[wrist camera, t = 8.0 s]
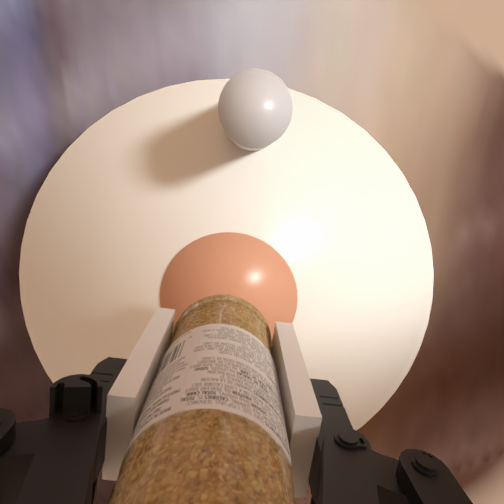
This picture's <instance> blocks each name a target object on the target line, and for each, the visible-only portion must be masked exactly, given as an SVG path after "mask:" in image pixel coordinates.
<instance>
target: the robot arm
mask: <svg viewBox="0 0 504 504" xmlns="http://www.w3.org/2000/svg"><path fill="white" fill-rule="evenodd" d="M174 315H175V309H168V308H159V307H158V308H157V309H156V311H155V313H154V315H153V316H152V318H151V320H150V322H149V323H148V325H147V327H146V328H145V330H144V332H143V334H142V335H141V337H140V339H139V341H138V342H137V344H136V346H135V348H134V349H133V351H132V353H131V355H130V356H129V358H128V359H122V358H113V357H108V358H106V359H104V360H102V361H101V362H99V363H97V365H96V366H95V368H94V369H93V370H92V372H91V373H90V375H87V374H76V375H70V376H66V377H63V378H61V379H59V380H57V381H56V382H54V383H53V385H52V386H51V387H50V415H49V417H48V418H46V419H43V420H37V421H30V422H20V423H16V419H15V414H14V413H13V412H11V411H10V410H7V409H3V408H0V504H95V497H96V491H97V476H98V474H99V472H100V470H101V468H102V465H103V470H102V479H103V480H114V481H117V478H118V476H119V471H120V466H121V462H122V460H123V457H124V454H125V451H126V449H127V446H128V444H129V441H130V439H131V436H132V434H133V431H134V429H135V426H136V424H137V421H138V419H139V416H140V414H141V411H142V409H143V406H144V404H145V401H146V399H147V396H148V394H149V391H150V389H151V386H152V384H153V381H154V379H155V376H156V374H157V372H158V369H159V367H160V364H161V361H162V359H163V357H164V355H165V353H166V351H167V350H168V348H169V347H170V345H171V342H172V335H173V325H174ZM271 353H272V358H273V361H274V364H275V367H276V372H277V378H278V383H279V389H280V395H281V401H282V406H283V412H284V418H285V426H286V432H287V437H288V444H289V450H290V456H291V464H292V467H291V474H292V479H293V488H294V497H295V498H306V496H307V491H308V486H309V485H310V489H311V494H312V498H311V503H310V504H473V503H472V502H471V501H470V499H469V498H468V496H467V495H466V493H465V492H464V491H463V489H462V488H461V486H460V485H459V483H458V482H457V480H456V479H455V477H454V476H453V475H452V473H451V472H450V470H449V469H448V468H447V467H446V465H445V464H444V463H443V462H442V461H441V460H439V459H438V458H436V457H435V456H433V455H432V454H430V453H427V452H425V451H422V450H417V449H406V450H404V451H403V452H401V455H400V458H399V460H396V459H393V458H390V457H387V456H384V455H381V454H379V453H376V452H374V451H373V450H371V446H370V444H369V442H368V440H367V439H366V438H365V437H364V436H363V435H362V434H360V433H359V432H357V431H356V430H354V429H353V427H352V425H351V422H350V420H349V418H348V415H347V413H346V410H345V408H344V407H343V403H342V401H341V400H340V396H339V394H338V391H337V389H336V388H335V387H334V386H333V385H332V384H331V383H330V382H329V381H328V380H320V379H311V378H310V377H309V374H308V371H307V368H306V365H305V362H304V359H303V355H302V352H301V349H300V346H299V343H298V340H297V336H296V333H295V330H294V327H293V324H292V323H285V322H277V321H275V327H274V334H273V340H272V346H271Z"/></svg>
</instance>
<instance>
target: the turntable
mask: <svg viewBox="0 0 504 504" xmlns="http://www.w3.org/2000/svg"><path fill="white" fill-rule="evenodd" d="M433 278H434V272H433V260H432V249H431V244H430V240H429V235H428V231H427V227H426V222H425V220H424V217H423V215H422V212H421V209H420V207H419V204H418V202H417V199H416V197H415V195H414V193H413V191H412V189H411V188H410V186H409V184H408V182H407V180H406V179H405V177H404V175H403V173H402V172H401V170H400V169H399V168H398V167H397V165H396V164H395V163H394V161H393V160H392V159H391V157H390V156H389V155H388V153H387V152H386V151H385V150H384V149H383V148H382V147H381V146H380V145H379V144H378V143H377V142H376V141H375V140H374V139H373V138H372V137H371V136H370V135H369V134H368V133H367V132H366V131H365V130H364V129H363V128H361V127H360V126H359V125H357V124H356V123H355V122H353V121H352V120H351V119H349V118H348V117H347V116H345V115H344V114H343V113H341V112H339V111H337V110H336V109H334V108H332V107H330V106H328V105H327V104H325V103H323V102H321V101H319V100H317V99H316V98H313V97H310V96H308V95H305V94H302V93H300V92H297V91H294V90H292V89H289V88H287V86H286V85H285V83H284V82H283V81H282V80H281V79H280V78H279V77H278V76H276V75H275V74H273V73H272V72H269V71H267V70H263V69H247V70H244V71H241V72H239V73H237V74H236V75H234V76H233V77H232V78H231V79H214V80H197V81H192V82H187V83H182V84H177V85H172V86H167V87H165V88H162V89H159V90H156V91H153V92H150V93H148V94H145V95H142V96H139V97H137V98H135V99H133V100H131V101H130V102H128V103H126V104H124V105H122V106H120V107H118V108H116V109H114V110H112V111H111V112H110V113H108V114H107V115H105V116H104V117H103V118H101V119H100V120H99V121H97V122H96V123H94V124H93V125H92V126H90V127H89V128H88V129H87V130H86V131H85V132H84V133H83V134H82V135H81V136H80V137H79V138H78V139H76V140H75V141H74V142H73V143H72V144H71V145H70V146H69V147H68V148H67V150H66V151H65V152H64V154H63V155H62V156H61V157H60V159H59V160H58V161H57V163H56V164H55V165H54V167H53V168H52V169H51V171H50V172H49V174H48V176H47V178H46V179H45V181H44V183H43V185H42V187H41V188H40V190H39V192H38V194H37V196H36V198H35V201H34V204H33V206H32V209H31V211H30V214H29V217H28V219H27V223H26V227H25V232H24V236H23V241H22V245H21V254H20V267H19V281H20V297H21V304H22V309H23V314H24V319H25V324H26V327H27V330H28V333H29V336H30V339H31V341H32V344H33V347H34V350H35V352H36V354H37V356H38V358H39V360H40V362H41V364H42V366H43V368H44V370H45V372H46V373H47V375H48V376H49V378H50V379H51V381H52V382H53V383H54V382H56V381H57V380H59V379H61V378H63V377H66V376H70V375H76V374H87V375H90V373H91V372H92V370H93V369H94V368H95V366H96V365H97V363H99V362H101V361H102V360H104V359H106V358H108V357H113V358H122V359H128V358H129V356H130V355H131V353H132V351H133V349H134V348H135V346H136V344H137V342H138V341H139V339H140V337H141V335H142V334H143V332H144V330H145V328H146V327H147V325H148V323H149V322H150V320H151V318H152V316H153V315H154V313H155V311H156V309H157V308H158V307H159V308H168V309H175V315H174V325H173V331H174V327H175V324H176V322H177V320H178V319H179V318H180V316H181V315H182V313H183V312H184V311H185V310H186V309H187V308H188V307H189V306H190V305H191V304H192V303H194V302H196V301H198V300H200V299H203V298H204V297H208V296H213V295H226V294H229V295H232V296H236V297H239V298H242V299H244V300H246V301H247V302H249V303H251V304H252V305H253V306H254V307H256V308H257V309H258V310H259V311H260V312H262V314H263V316H264V318H265V320H266V321H267V324H268V326H269V329H270V333H271V338H272V340H273V334H274V327H275V321H277V322H285V323H292V324H293V327H294V330H295V333H296V336H297V340H298V343H299V346H300V349H301V352H302V355H303V359H304V362H305V365H306V368H307V371H308V374H309V377H310V378H311V379H320V380H328V381H329V382H330V383H331V384H332V385H333V386H334V387H335V388H336V389H337V391H338V394H339V396H340V400H341V401H342V403H343V407H344V408H345V410H346V413H347V415H348V418H349V420H350V422H351V425H352V427H353V429H354V430H356V431H357V430H358V429H359V428H361V427H362V426H363V425H364V424H365V423H367V422H368V421H369V420H370V419H371V418H372V417H373V416H374V415H375V414H376V413H377V412H378V411H379V410H380V409H381V408H382V407H383V406H384V405H385V404H386V402H387V401H388V400H389V399H390V398H391V396H392V395H393V394H394V393H395V392H396V390H397V389H398V387H399V386H400V384H401V383H402V381H403V379H404V378H405V376H406V375H407V373H408V372H409V370H410V368H411V366H412V364H413V362H414V360H415V358H416V356H417V353H418V351H419V349H420V347H421V344H422V341H423V338H424V335H425V332H426V328H427V325H428V321H429V315H430V310H431V305H432V299H433ZM271 346H272V344H271Z"/></svg>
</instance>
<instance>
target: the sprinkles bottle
mask: <svg viewBox="0 0 504 504" xmlns="http://www.w3.org/2000/svg"><path fill="white" fill-rule="evenodd" d="M271 344H272V338H271V333H270V329H269V326H268V324H267V321H266V320H265V318H264V316H263V314H262V312H260V311H259V310H258V309H257V308H256V307H254V306H253V305H252V304H251V303H249V302H247V301H246V300H244V299H242V298H239V297H236V296H232V295H229V294H226V295H213V296H208V297H204V298H203V299H200V300H198V301H196V302H194V303H192V304H191V305H190V306H189V307H188V308H187V309H186V310H185V311H184V312H183V313H182V315H181V316H180V318H179V319H178V320H177V322H176V324H175V327H174V331H173V335H172V342H171V345H170V347H169V348H168V350H167V351H166V353H165V355H164V357H163V359H162V361H161V364H160V367H159V369H158V372H157V374H156V376H155V379H154V381H153V384H152V386H151V389H150V391H149V394H148V396H147V399H146V401H145V404H144V406H143V409H142V411H141V414H140V416H139V419H138V421H137V424H136V426H135V429H134V431H133V434H132V436H131V439H130V441H129V444H128V446H127V449H126V451H125V454H124V457H123V460H122V462H121V466H120V471H119V476H118V478H117V481H116V483H115V486H114V488H113V491H112V493H111V496H110V499H109V502H108V504H296V503H295V499H294V488H293V479H292V474H291V467H292V464H291V456H290V450H289V444H288V437H287V432H286V426H285V418H284V412H283V406H282V401H281V395H280V389H279V383H278V378H277V372H276V367H275V364H274V361H273V358H272V353H271Z"/></svg>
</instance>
